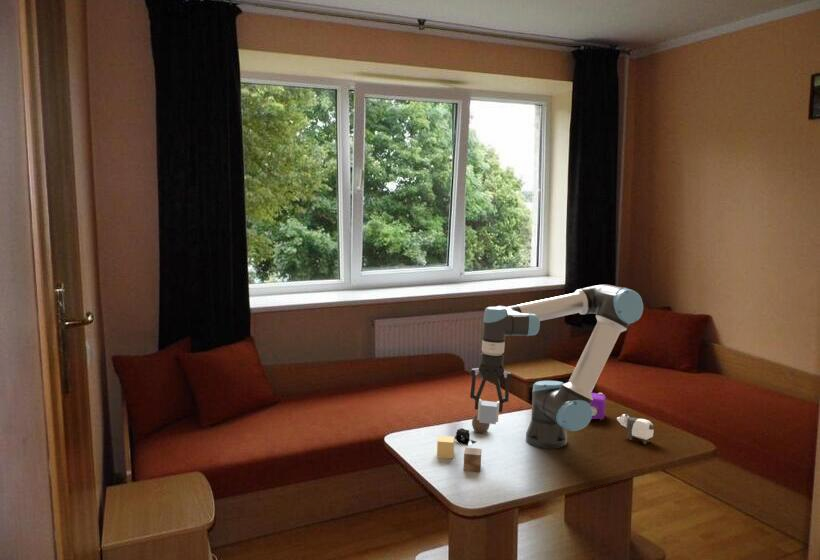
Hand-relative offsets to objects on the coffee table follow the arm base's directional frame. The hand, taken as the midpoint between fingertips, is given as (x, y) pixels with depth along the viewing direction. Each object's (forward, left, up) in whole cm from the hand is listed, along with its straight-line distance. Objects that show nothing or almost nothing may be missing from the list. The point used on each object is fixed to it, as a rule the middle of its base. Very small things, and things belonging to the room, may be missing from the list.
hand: (487, 419), depth 209 cm
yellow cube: (+15, -5, -16) cm, 22 cm away
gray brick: (0, 0, 0) cm, 0 cm away
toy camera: (-42, -57, -16) cm, 73 cm away
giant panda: (-55, -35, -16) cm, 68 cm away
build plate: (+10, -20, -17) cm, 28 cm away
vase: (+4, -31, -16) cm, 35 cm away
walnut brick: (+5, +4, -16) cm, 17 cm away
